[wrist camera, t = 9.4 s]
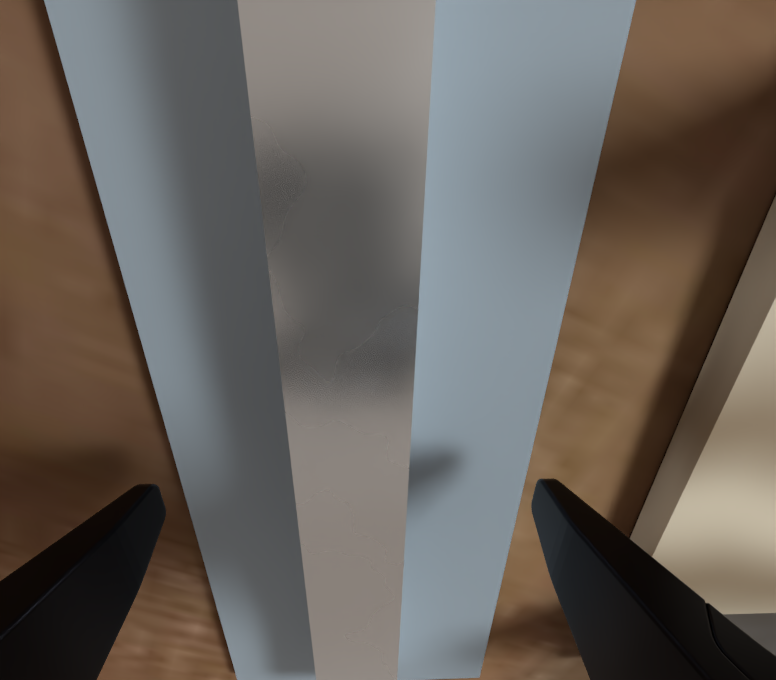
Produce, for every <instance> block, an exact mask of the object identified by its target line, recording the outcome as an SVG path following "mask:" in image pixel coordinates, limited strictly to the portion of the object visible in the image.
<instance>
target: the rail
mask: <svg viewBox="0 0 776 680" xmlns="http://www.w3.org/2000/svg"><path fill="white" fill-rule="evenodd" d="M237 2H238V11H239V19H240V28H241V37H242V45H243V54H244V62H245V71H246V80H247V88H248V97H249V106H250V114H251V123H252V131H253V140H254V149H255V157H256V166H257V174H258V183H259V192H260V200H261V209H262V218H263V226H264V235H265V243H266V252H267V261H268V269H269V278H270V286H271V295H272V304H273V312H274V321H275V329H276V338H277V347H278V355H279V364H280V373H281V381H282V390H283V398H284V407H285V416H286V424H287V433H288V441H289V450H290V459H291V467H292V476H293V485H294V493H295V502H296V510H297V519H298V528H299V536H300V545H301V553H302V562H303V571H304V579H305V588H306V597H307V605H308V614H309V622H310V631H311V640H312V648H313V657H314V665H315V674H316V680H397V674H398V657H399V639H400V622H401V604H402V586H403V569H404V551H405V534H406V516H407V499H408V481H409V463H410V446H411V428H412V411H413V393H414V375H415V358H416V340H417V323H418V305H419V288H420V270H421V252H422V235H423V217H424V200H425V182H426V164H427V147H428V129H429V112H430V94H431V77H432V59H433V41H434V24H435V6H436V0H237Z"/></svg>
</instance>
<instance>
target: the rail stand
mask: <svg viewBox="0 0 776 680" xmlns="http://www.w3.org/2000/svg"><path fill="white" fill-rule="evenodd" d="M630 539H631V540H632V541H633V542H634V543H636V544H637V545H638V546H639V547H641V548H642V549H643V550H644V551H645V552H647V553H648V554H649V555H650V556H652V557H653V558H654V559H655V560H657V561H658V562H659V563H660V564H661V565H663V566H664V567H665V568H666V569H668V570H669V571H670V572H671V573H673V574H674V575H675V576H676V577H677V578H679V579H680V580H681V581H682V582H684V583H685V584H686V585H687V586H689V587H690V588H691V589H692V590H693V591H695V592H696V593H697V594H698V595H700V596H701V597H702V598H703V599H704V600H705V602H706V603H710V604H711V605H712V606H713V607H715V608H716V609H717V610H718V611H719V612H721V613H722V614H723V615H724V616H726V617H727V618H728V619H729V620H731V621H732V622H733V623H734V624H736V625H737V626H738V627H739V628H741V629H742V630H743V631H745V632H746V633H747V634H748V635H750V636H751V637H752V638H753V639H755V640H756V641H757V642H758V643H760V644H761V645H762V646H764V647H765V648H766V649H768V650H769V651H770V652H772V653H773V654H774V655H776V196H775V198H774V200H773V203H772V205H771V207H770V210H769V212H768V214H767V217H766V219H765V221H764V224H763V226H762V229H761V231H760V233H759V236H758V238H757V240H756V243H755V245H754V247H753V250H752V252H751V254H750V257H749V259H748V261H747V264H746V266H745V269H744V271H743V273H742V276H741V278H740V280H739V283H738V285H737V287H736V290H735V292H734V294H733V297H732V299H731V301H730V304H729V306H728V309H727V311H726V313H725V316H724V318H723V320H722V323H721V325H720V327H719V330H718V332H717V334H716V337H715V339H714V341H713V344H712V346H711V348H710V351H709V353H708V356H707V358H706V360H705V363H704V365H703V367H702V370H701V372H700V374H699V377H698V379H697V381H696V384H695V386H694V388H693V391H692V393H691V396H690V398H689V400H688V403H687V405H686V407H685V410H684V412H683V414H682V417H681V419H680V421H679V424H678V426H677V428H676V431H675V433H674V436H673V438H672V440H671V443H670V445H669V447H668V450H667V452H666V454H665V457H664V459H663V461H662V464H661V466H660V468H659V471H658V473H657V476H656V478H655V480H654V483H653V485H652V487H651V490H650V492H649V494H648V497H647V499H646V501H645V504H644V506H643V508H642V511H641V513H640V516H639V518H638V520H637V523H636V525H635V527H634V530H633V532H632V534H631V537H630Z"/></svg>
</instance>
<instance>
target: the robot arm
mask: <svg viewBox="0 0 776 680" xmlns="http://www.w3.org/2000/svg"><path fill="white" fill-rule="evenodd" d="M531 507H532V514H533V517H534V521H535V525H536V528H537V532H538V535H539V539H540V542H541V546H542V550H543V553H544V557H545V560H546V564H547V567H548V571H549V574H550V577H551V580H552V583H553V585H554V588H555V591H556V593H557V596H558V598H559V601H560V604H561V606H562V609H563V611H564V614H565V616H566V619H567V621H568V624H569V627H570V629H571V632H572V634H573V637H574V639H575V642H576V644H577V647H578V650H579V652H580V655H581V657H582V660H583V662H584V665H585V667H586V670H587V673H588V675H589V678H590V680H776V655H774V654H773V653H772V652H770V651H769V650H768V649H766V648H765V647H764V646H762V645H761V644H760V643H758V642H757V641H756V640H755V639H753V638H752V637H751V636H750V635H748V634H747V633H746V632H745V631H743V630H742V629H741V628H739V627H738V626H737V625H736V624H734V623H733V622H732V621H731V620H729V619H728V618H727V617H726V616H724V615H723V614H722V613H721V612H719V611H718V610H717V609H716V608H715V607H713V606H712V605H711V604H710V603H706V602H705V600H704V599H703V598H702V597H701V596H700V595H698V594H697V593H696V592H695V591H693V590H692V589H691V588H690V587H689V586H687V585H686V584H685V583H684V582H682V581H681V580H680V579H679V578H677V577H676V576H675V575H674V574H673V573H671V572H670V571H669V570H668V569H666V568H665V567H664V566H663V565H661V564H660V563H659V562H658V561H657V560H655V559H654V558H653V557H652V556H650V555H649V554H648V553H647V552H645V551H644V550H643V549H642V548H641V547H639V546H638V545H637V544H636V543H634V542H633V541H632V540H631V539H629V538H628V537H627V536H626V535H625V534H623V533H622V532H621V531H620V530H618V529H617V528H616V527H615V526H613V525H612V524H611V523H610V522H609V521H607V520H606V519H605V518H604V517H602V516H601V515H600V514H599V513H597V512H596V511H595V510H594V509H593V508H591V507H590V506H589V505H588V504H586V503H585V502H584V501H583V500H581V499H580V498H579V497H578V496H577V495H575V494H574V493H573V492H572V491H570V490H569V489H568V488H567V487H565V486H564V485H563V484H562V483H561V482H559V481H558V480H556V479H539V480H538V481H537V483H536V487H535V491H534V495H533V499H532V505H531ZM165 515H166V509H165V505H164V502H163V499H162V496H161V493H160V490H159V487H158V486H157V485H155V484H139V485H136V486H134V487H133V488H131V489H130V490H129V491H127V492H126V493H124V494H123V495H121V496H120V497H119V498H117V499H116V500H114V501H113V502H112V503H110V504H109V505H107V506H106V507H105V508H103V509H102V510H100V511H99V512H97V513H96V514H95V515H93V516H92V517H90V518H89V519H88V520H86V521H85V522H83V523H82V524H81V525H79V526H78V527H76V528H75V529H73V530H72V531H71V532H69V533H68V534H66V535H65V536H64V537H62V538H61V539H59V540H58V541H57V542H55V543H54V544H52V545H51V546H49V547H48V548H47V549H45V550H44V551H42V552H41V553H40V554H38V555H37V556H35V557H34V558H33V559H31V560H30V561H28V562H27V563H25V564H24V565H23V566H21V567H20V568H18V569H17V570H16V571H14V572H13V573H11V574H10V575H9V576H7V577H6V578H4V579H3V580H1V581H0V680H97V678H98V676H99V673H100V671H101V669H102V667H103V665H104V663H105V661H106V659H107V656H108V654H109V652H110V650H111V648H112V646H113V644H114V642H115V640H116V637H117V635H118V633H119V631H120V629H121V627H122V625H123V623H124V621H125V618H126V616H127V614H128V612H129V610H130V608H131V606H132V604H133V601H134V599H135V597H136V595H137V593H138V590H139V588H140V586H141V583H142V581H143V578H144V575H145V573H146V570H147V567H148V564H149V561H150V559H151V556H152V553H153V550H154V548H155V545H156V542H157V539H158V537H159V534H160V531H161V528H162V525H163V523H164V520H165Z"/></svg>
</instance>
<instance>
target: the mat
mask: <svg viewBox="0 0 776 680" xmlns="http://www.w3.org/2000/svg"><path fill="white" fill-rule="evenodd" d="M44 2H45V5H46V9H47V13H48V16H49V20H50V23H51V27H52V30H53V34H54V37H55V41H56V44H57V48H58V51H59V55H60V58H61V62H62V65H63V69H64V72H65V76H66V79H67V83H68V86H69V90H70V93H71V97H72V100H73V104H74V107H75V111H76V114H77V118H78V122H79V125H80V129H81V132H82V136H83V139H84V143H85V146H86V150H87V153H88V157H89V160H90V164H91V167H92V171H93V174H94V178H95V181H96V185H97V188H98V192H99V195H100V199H101V202H102V206H103V209H104V213H105V216H106V220H107V223H108V227H109V230H110V234H111V238H112V241H113V245H114V248H115V252H116V255H117V259H118V262H119V266H120V269H121V273H122V276H123V280H124V283H125V287H126V290H127V294H128V297H129V301H130V304H131V308H132V311H133V315H134V318H135V322H136V325H137V329H138V332H139V336H140V339H141V343H142V346H143V350H144V354H145V357H146V361H147V364H148V368H149V371H150V375H151V378H152V382H153V385H154V389H155V392H156V396H157V399H158V403H159V406H160V410H161V413H162V417H163V420H164V424H165V427H166V431H167V434H168V438H169V441H170V445H171V448H172V452H173V455H174V459H175V463H176V466H177V470H178V473H179V477H180V480H181V484H182V487H183V491H184V494H185V498H186V501H187V505H188V508H189V512H190V515H191V519H192V522H193V526H194V529H195V533H196V536H197V540H198V543H199V547H200V550H201V554H202V557H203V561H204V564H205V568H206V571H207V575H208V579H209V582H210V586H211V589H212V593H213V596H214V600H215V603H216V607H217V610H218V614H219V617H220V621H221V624H222V628H223V631H224V635H225V638H226V642H227V645H228V649H229V652H230V656H231V659H232V663H233V666H234V670H235V673H236V677H237V680H316V674H315V665H314V657H313V648H312V640H311V631H310V622H309V614H308V605H307V597H306V588H305V579H304V571H303V562H302V553H301V545H300V536H299V528H298V519H297V510H296V502H295V493H294V485H293V476H292V467H291V459H290V450H289V441H288V433H287V424H286V416H285V407H284V398H283V390H282V381H281V373H280V364H279V355H278V347H277V338H276V329H275V321H274V312H273V304H272V295H271V286H270V278H269V269H268V261H267V252H266V243H265V235H264V226H263V218H262V209H261V200H260V192H259V183H258V174H257V166H256V157H255V149H254V140H253V131H252V123H251V114H250V106H249V97H248V88H247V80H246V71H245V62H244V54H243V45H242V37H241V28H240V19H239V11H238V2H237V0H44ZM635 2H636V0H436V6H435V24H434V41H433V59H432V77H431V94H430V112H429V129H428V147H427V164H426V182H425V200H424V217H423V235H422V252H421V270H420V288H419V305H418V323H417V340H416V358H415V375H414V393H413V411H412V428H411V446H410V463H409V481H408V499H407V516H406V534H405V551H404V569H403V586H402V604H401V622H400V639H399V657H398V674H397V680H424V679H453V678H479V677H480V673H481V668H482V664H483V660H484V655H485V651H486V647H487V642H488V638H489V634H490V629H491V625H492V621H493V616H494V612H495V608H496V603H497V599H498V595H499V590H500V586H501V582H502V577H503V573H504V569H505V565H506V560H507V556H508V552H509V547H510V543H511V539H512V534H513V530H514V526H515V521H516V517H517V513H518V508H519V504H520V500H521V495H522V491H523V487H524V482H525V478H526V474H527V469H528V465H529V461H530V456H531V452H532V448H533V443H534V439H535V435H536V430H537V426H538V422H539V417H540V413H541V409H542V404H543V400H544V396H545V392H546V387H547V383H548V379H549V374H550V370H551V366H552V361H553V357H554V353H555V348H556V344H557V340H558V335H559V331H560V327H561V322H562V318H563V314H564V309H565V305H566V301H567V296H568V292H569V288H570V283H571V279H572V275H573V270H574V266H575V262H576V257H577V253H578V249H579V244H580V240H581V236H582V231H583V227H584V223H585V218H586V214H587V210H588V206H589V201H590V197H591V193H592V188H593V184H594V180H595V175H596V171H597V167H598V162H599V158H600V154H601V149H602V145H603V141H604V136H605V132H606V128H607V123H608V119H609V115H610V110H611V106H612V102H613V97H614V93H615V89H616V84H617V80H618V76H619V71H620V67H621V63H622V58H623V54H624V50H625V45H626V41H627V37H628V33H629V28H630V24H631V20H632V15H633V11H634V7H635Z"/></svg>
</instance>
